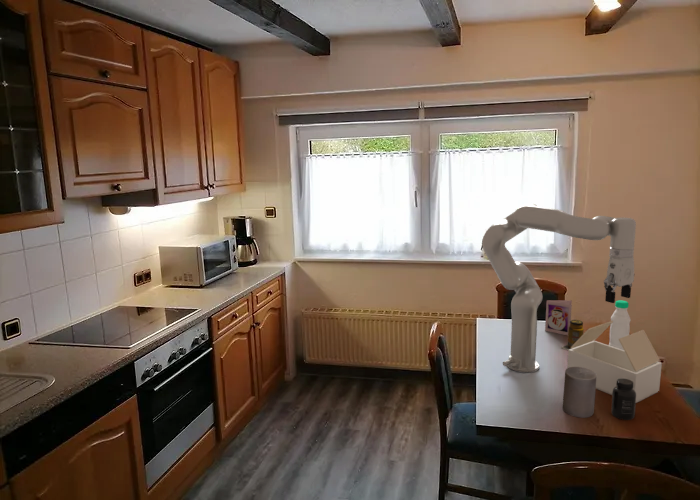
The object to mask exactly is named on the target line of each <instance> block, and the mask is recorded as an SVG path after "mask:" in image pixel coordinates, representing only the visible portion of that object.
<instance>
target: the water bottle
mask: <svg viewBox="0 0 700 500" xmlns="http://www.w3.org/2000/svg"><path fill="white" fill-rule="evenodd" d="M629 306H630V305H629V302H628V301H627V300H622V299H621V300H615V304H614V307H615V309H614V311H613V313H612V315H611V316H610V321H613V322H612V323H611V324H610V325H609V326H610V327H609V343H608V345H609V346H612V347H615V348H618V349H621V350H624V349H623V347H622V345H621V343H620V341H619V339H620V338H622V337H625V336H628V335H630V330H631V329H630V327H631V326H630V323H631V316H630V315H629V312H628V309H629Z"/></svg>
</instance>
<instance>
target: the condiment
mask: <svg viewBox="0 0 700 500" xmlns="http://www.w3.org/2000/svg"><path fill="white" fill-rule="evenodd" d="M584 330H585V329H584V321H582V320H581V319H580V320H579V319H571V321H570V326H569V328H568V335H567V344H565V345H562V347H561V349H563V350H565V351H566V350H567V351H568V350H569V349H571V347H572V345H573V344H574V343H575V342H576V341H577V340H578V339H579V338H580V337H581V336H582V335H583V334H584V332H585V331H584ZM574 348H575V347H574Z"/></svg>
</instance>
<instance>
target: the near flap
mask: <svg viewBox="0 0 700 500" xmlns="http://www.w3.org/2000/svg"><path fill="white" fill-rule="evenodd" d="M619 341H620V343H621V345H622V347H623V349H624V351H625V353H626V355H627V357H628V359H629V361H630V363H631V365H632V367H633V368H634V370H635V371H637V370H639V369H641V368H643V367H646V366H648V365H650V364H652V363H655V362H657V361H658V362H660V360H661V359H660V358H659V356H658V354H657V352H656V350H655V348H654V347H653V344H652V342H651V341H650V339H649V338H648V335H647V333H646V332H645V330H644V329H642V330H641V329H640V330H638V331H636V332H633V333H629V335H628V336H625V337H622V338H620V339H619Z"/></svg>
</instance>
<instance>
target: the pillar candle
mask: <svg viewBox="0 0 700 500" xmlns="http://www.w3.org/2000/svg"><path fill="white" fill-rule="evenodd" d="M596 378H597V375H596V373H595V372H594V371H592V370H590V369H587V368H584V367H569V368H566V369H565V370H564V383H563V384H564V386H563V395H562V397H563V398H562V410H563V411H564V412H565V413H566V414H567V415H569V416H572V417H576V418H583V419H584V418H585V419H586V418H590V417H592V416H593V415H594V412H595V400H596V390H597V389H596Z"/></svg>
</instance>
